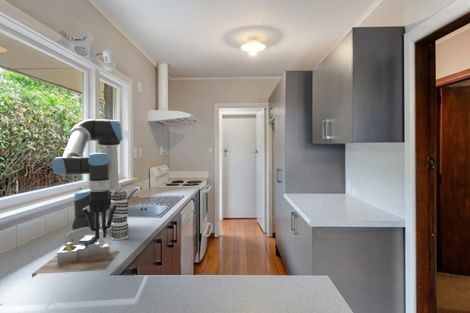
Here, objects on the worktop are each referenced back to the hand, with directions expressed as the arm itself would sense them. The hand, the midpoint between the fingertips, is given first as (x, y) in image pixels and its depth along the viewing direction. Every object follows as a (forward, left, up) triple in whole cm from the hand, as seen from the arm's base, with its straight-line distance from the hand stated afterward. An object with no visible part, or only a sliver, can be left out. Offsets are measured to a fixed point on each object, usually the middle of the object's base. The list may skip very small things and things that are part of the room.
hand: (101, 245), depth 117 cm
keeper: (-4, -7, -7) cm, 10 cm away
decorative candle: (-32, -2, -7) cm, 33 cm away
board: (+1, -8, -7) cm, 10 cm away
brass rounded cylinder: (-3, -14, -7) cm, 16 cm away
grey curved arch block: (-21, -15, -7) cm, 27 cm away
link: (-3, -7, -6) cm, 10 cm away
